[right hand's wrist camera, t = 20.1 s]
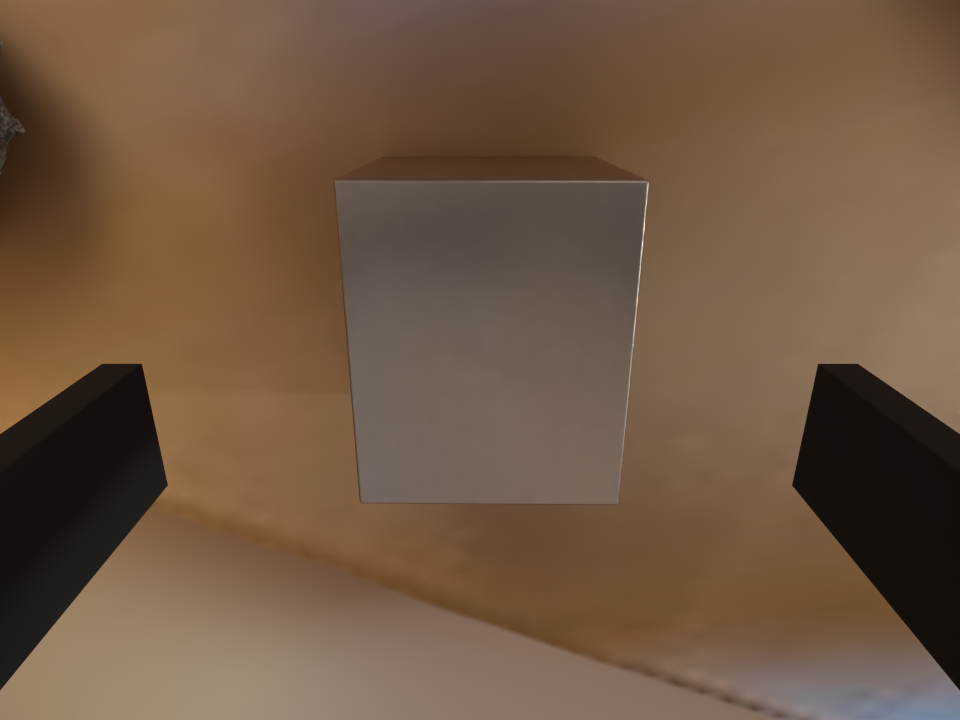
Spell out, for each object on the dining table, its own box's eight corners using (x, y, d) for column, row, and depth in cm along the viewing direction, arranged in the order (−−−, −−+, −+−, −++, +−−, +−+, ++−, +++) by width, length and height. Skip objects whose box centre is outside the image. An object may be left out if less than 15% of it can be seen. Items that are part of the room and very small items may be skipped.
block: (598, 157, 21) (650, 180, 15) (582, 396, 25) (618, 505, 18) (380, 157, 21) (332, 179, 15) (394, 396, 25) (359, 504, 18)
